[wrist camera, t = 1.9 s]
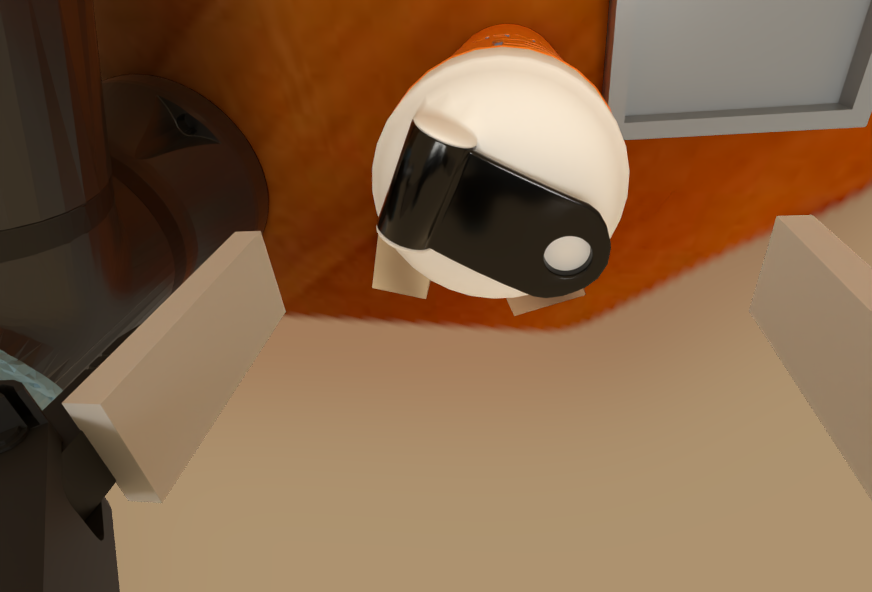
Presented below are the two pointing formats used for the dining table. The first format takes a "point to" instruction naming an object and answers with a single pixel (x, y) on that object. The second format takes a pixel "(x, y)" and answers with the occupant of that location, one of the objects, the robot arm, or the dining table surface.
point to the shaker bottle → (502, 171)
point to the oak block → (397, 273)
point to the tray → (737, 66)
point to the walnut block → (538, 302)
